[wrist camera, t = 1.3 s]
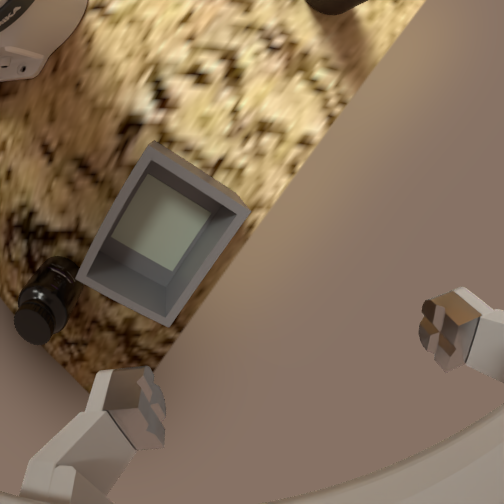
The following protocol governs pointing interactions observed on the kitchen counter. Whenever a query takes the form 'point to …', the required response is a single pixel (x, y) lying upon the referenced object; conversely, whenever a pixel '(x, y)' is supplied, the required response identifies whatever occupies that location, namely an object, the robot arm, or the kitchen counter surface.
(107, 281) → the walled bin
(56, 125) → the kitchen counter surface
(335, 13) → the vinegar
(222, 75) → the kitchen counter surface
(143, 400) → the robot arm
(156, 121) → the kitchen counter surface
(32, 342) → the supplement bottle
